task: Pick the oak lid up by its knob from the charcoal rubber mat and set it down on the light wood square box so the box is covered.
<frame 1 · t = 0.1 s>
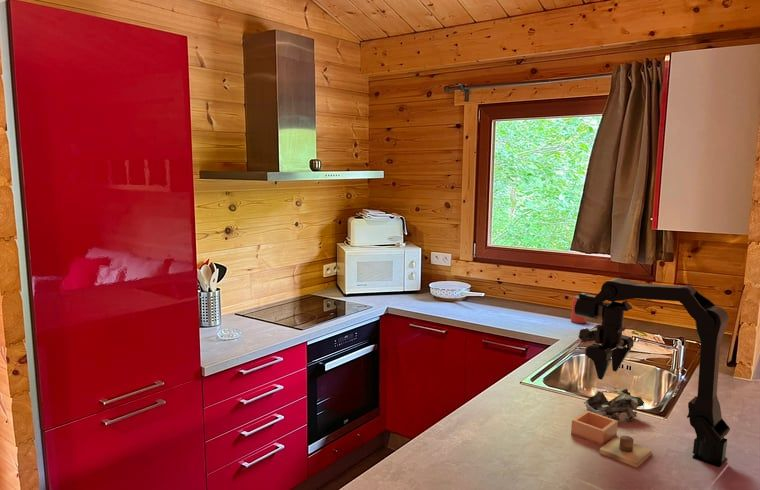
hand: (607, 375, 168), 15 cm above the countertop, tool pointing down, fingers open, 9 cm apart
beer can: (578, 322, 272), on the countertop
mat: (625, 455, 152), on the countertop
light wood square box: (593, 435, 162), on the countertop
lid: (625, 453, 152), resting on mat
foil: (611, 418, 174), on the countertop
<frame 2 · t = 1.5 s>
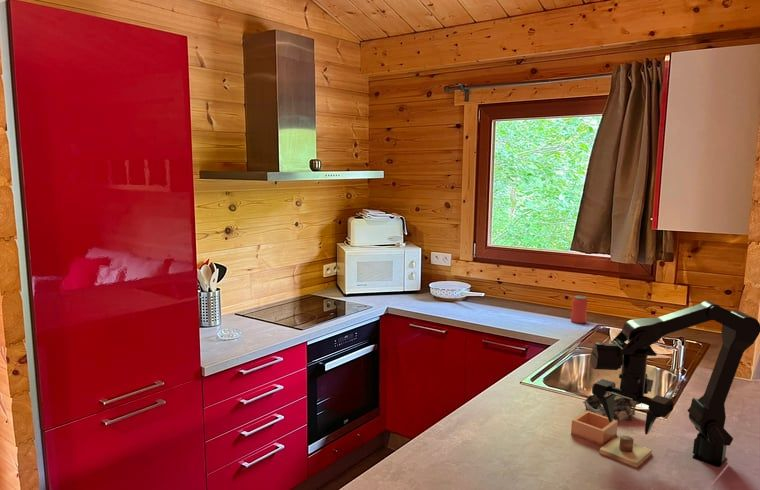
hand: (628, 427, 151), 8 cm above the countertop, tool pointing down, fingers open, 9 cm apart
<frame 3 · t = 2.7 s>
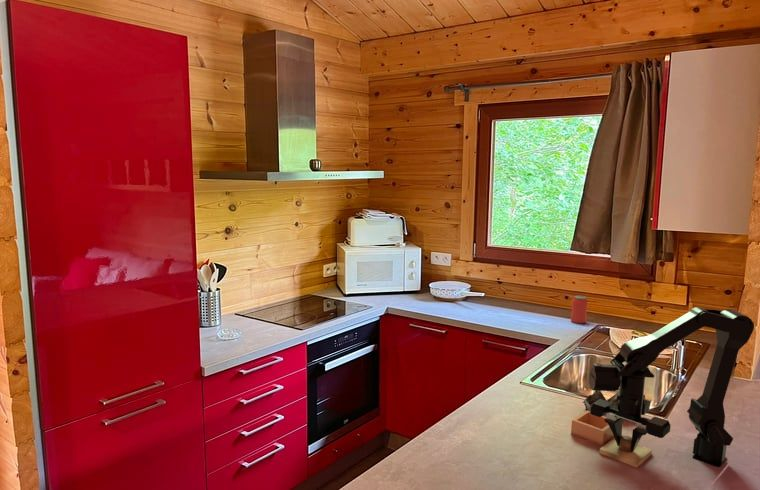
hand: (626, 448, 152), 2 cm above the countertop, tool pointing down, fingers closed on lid, 3 cm apart
lid: (625, 453, 152), resting on mat, touching gripper
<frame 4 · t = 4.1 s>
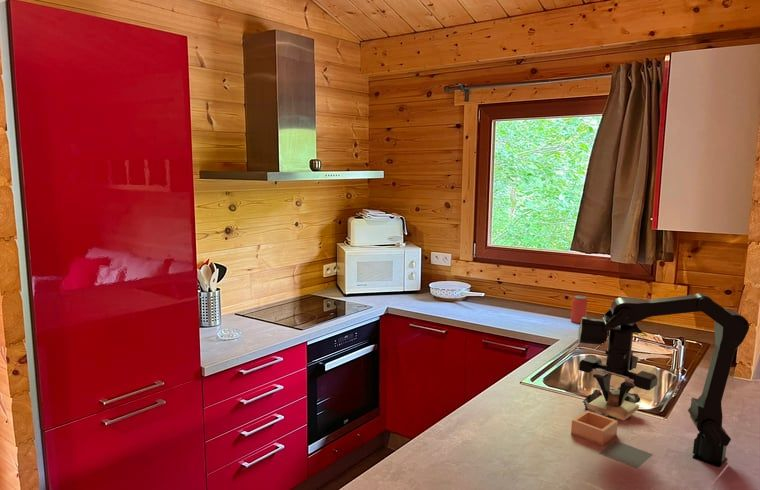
hand: (613, 403, 155), 12 cm above the countertop, tool pointing down, fingers closed on lid, 3 cm apart
lid: (613, 408, 155), point 11 cm above the countertop, touching gripper
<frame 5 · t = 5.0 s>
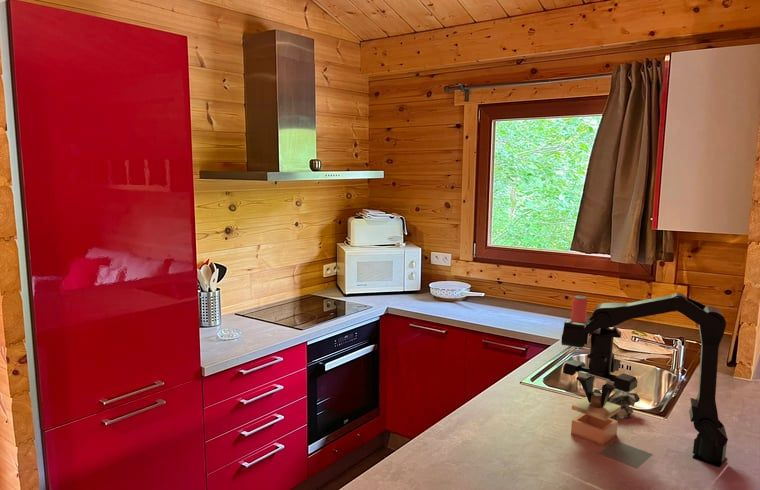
hand: (596, 404, 161), 9 cm above the countertop, tool pointing down, fingers closed on lid, 3 cm apart
lid: (596, 409, 161), point 8 cm above the countertop, touching gripper
when the fingers open (7 cm above the countertop, at t = 5.6 s): lid drops 1 cm, resting on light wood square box.
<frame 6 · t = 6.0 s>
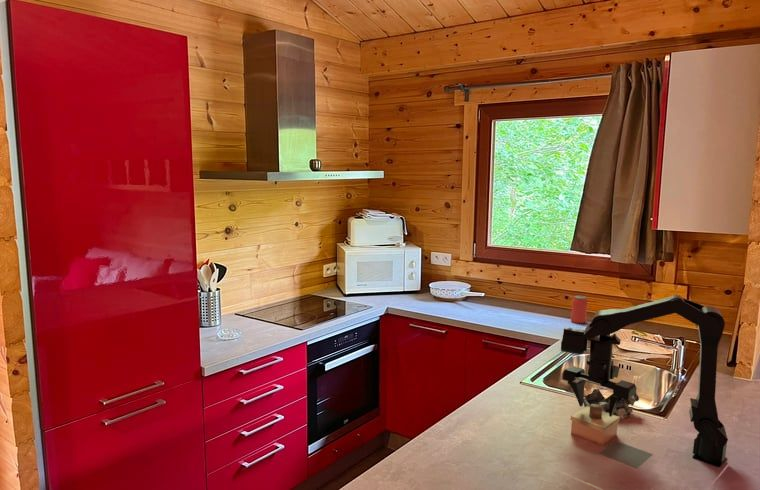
hand: (595, 411, 161), 7 cm above the countertop, tool pointing down, fingers open, 8 cm apart
lid: (594, 420, 162), point 4 cm above the countertop, touching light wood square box
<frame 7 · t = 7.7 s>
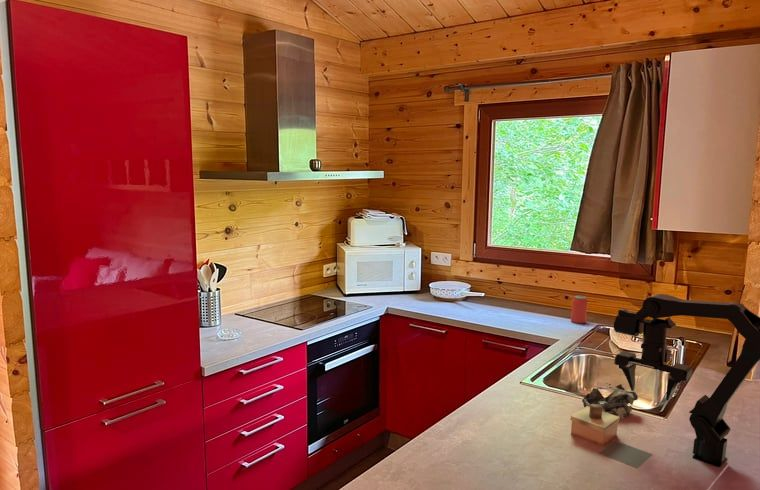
hand: (649, 395, 161), 12 cm above the countertop, tool pointing down, fingers open, 9 cm apart
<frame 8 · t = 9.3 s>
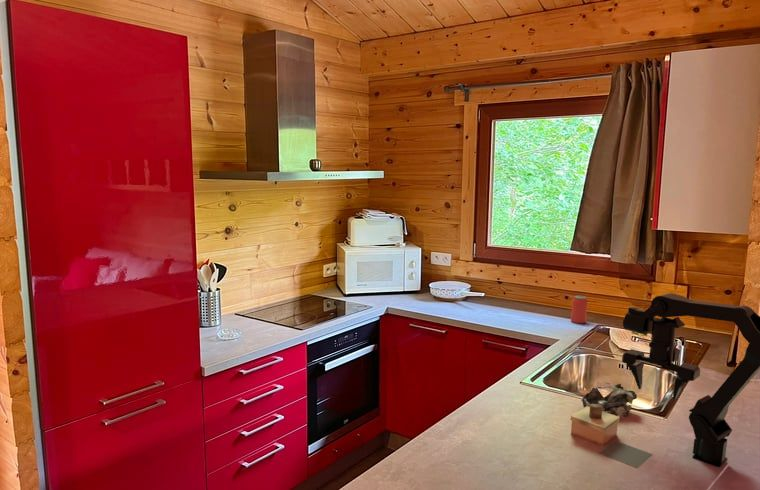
hand: (656, 393, 161), 13 cm above the countertop, tool pointing down, fingers open, 9 cm apart
at the end: lid 0.1 cm off-centre on the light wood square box, point 4.5 cm above the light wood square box's base; the gripper is holding nothing; lid tilted 0° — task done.
